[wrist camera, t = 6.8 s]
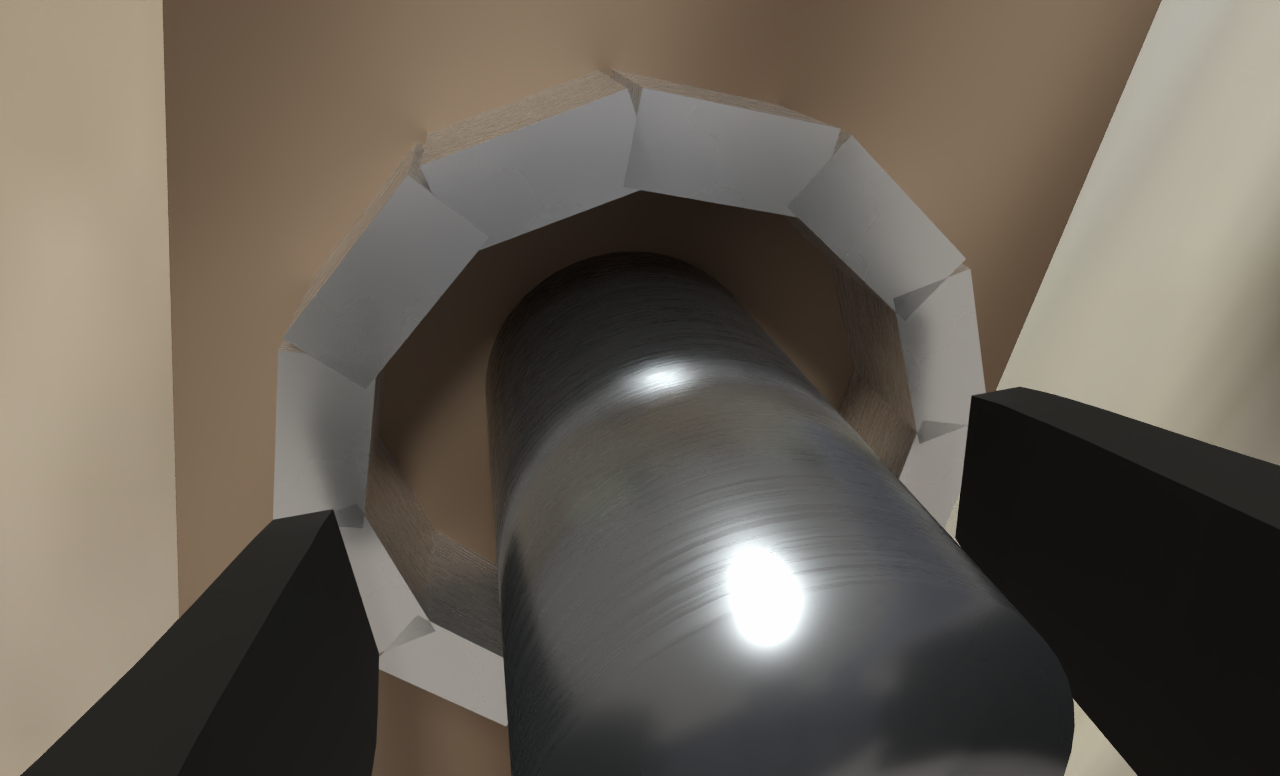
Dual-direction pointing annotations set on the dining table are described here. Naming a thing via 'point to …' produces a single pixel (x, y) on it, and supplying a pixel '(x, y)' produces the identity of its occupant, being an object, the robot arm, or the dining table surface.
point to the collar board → (582, 252)
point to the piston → (729, 560)
